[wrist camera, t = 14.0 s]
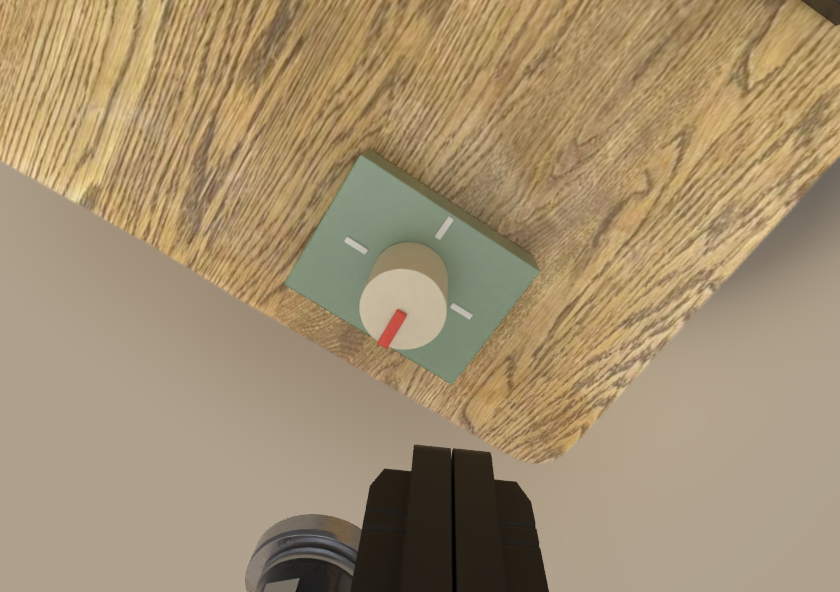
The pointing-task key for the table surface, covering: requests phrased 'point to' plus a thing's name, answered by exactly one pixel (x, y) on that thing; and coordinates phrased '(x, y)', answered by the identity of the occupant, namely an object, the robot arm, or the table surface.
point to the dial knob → (405, 297)
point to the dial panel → (421, 223)
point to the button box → (827, 9)
